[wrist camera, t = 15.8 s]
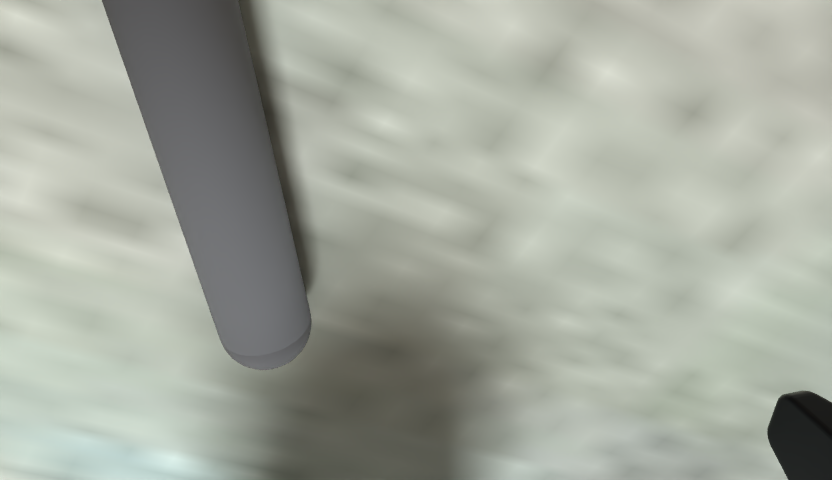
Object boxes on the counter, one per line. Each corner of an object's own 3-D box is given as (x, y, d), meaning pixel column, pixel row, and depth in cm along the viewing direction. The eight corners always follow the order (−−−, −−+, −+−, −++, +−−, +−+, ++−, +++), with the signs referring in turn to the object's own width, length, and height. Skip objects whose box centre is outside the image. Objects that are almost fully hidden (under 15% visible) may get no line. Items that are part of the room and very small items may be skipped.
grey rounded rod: (315, 319, 23) (321, 378, 20) (232, 335, 22) (228, 397, 20) (165, -342, 13) (140, -385, 10) (11, -332, 12) (-53, -374, 10)
